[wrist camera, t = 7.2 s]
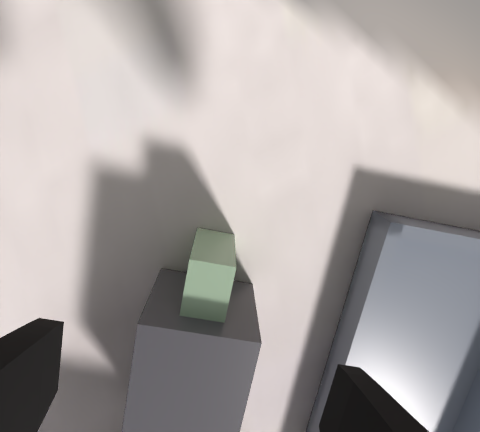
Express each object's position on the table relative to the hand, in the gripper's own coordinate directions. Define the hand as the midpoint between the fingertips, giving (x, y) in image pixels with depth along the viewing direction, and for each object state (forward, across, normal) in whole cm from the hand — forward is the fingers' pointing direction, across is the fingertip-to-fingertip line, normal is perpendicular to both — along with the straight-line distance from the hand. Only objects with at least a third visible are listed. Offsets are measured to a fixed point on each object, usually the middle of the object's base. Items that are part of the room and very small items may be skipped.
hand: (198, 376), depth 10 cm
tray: (+9, -12, +5) cm, 15 cm away
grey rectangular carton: (+9, 0, +4) cm, 10 cm away
